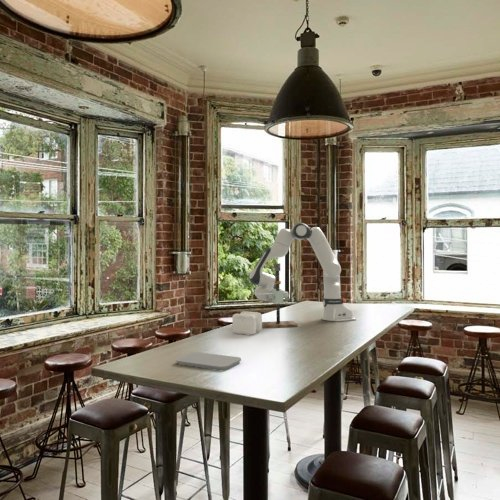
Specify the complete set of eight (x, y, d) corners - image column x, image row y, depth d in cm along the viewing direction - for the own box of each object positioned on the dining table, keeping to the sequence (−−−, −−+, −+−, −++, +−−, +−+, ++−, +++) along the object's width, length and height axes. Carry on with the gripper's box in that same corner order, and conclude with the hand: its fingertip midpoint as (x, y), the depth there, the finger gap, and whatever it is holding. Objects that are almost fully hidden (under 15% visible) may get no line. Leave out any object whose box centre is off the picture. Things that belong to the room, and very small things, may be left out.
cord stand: (292, 323, 291) (292, 262, 290) (298, 326, 278) (297, 263, 277) (259, 324, 288) (258, 263, 287) (262, 328, 275) (261, 264, 274)
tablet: (224, 372, 185) (224, 367, 185) (173, 365, 197) (173, 360, 197) (243, 362, 200) (243, 357, 199) (194, 356, 212) (194, 351, 212)
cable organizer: (263, 332, 262) (263, 312, 262) (253, 336, 253) (253, 315, 253) (241, 330, 270) (241, 310, 270) (231, 333, 261) (231, 313, 261)
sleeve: (279, 302, 286) (279, 289, 286) (283, 303, 281) (283, 290, 281) (272, 303, 284) (272, 290, 284) (276, 304, 279) (276, 291, 279)
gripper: (254, 290, 290) (263, 293, 277) (282, 288, 298) (292, 290, 286) (254, 300, 290) (263, 303, 278) (282, 298, 298) (292, 300, 286)
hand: (278, 297), depth 282 cm, fingers closed on sleeve, 5 cm apart
